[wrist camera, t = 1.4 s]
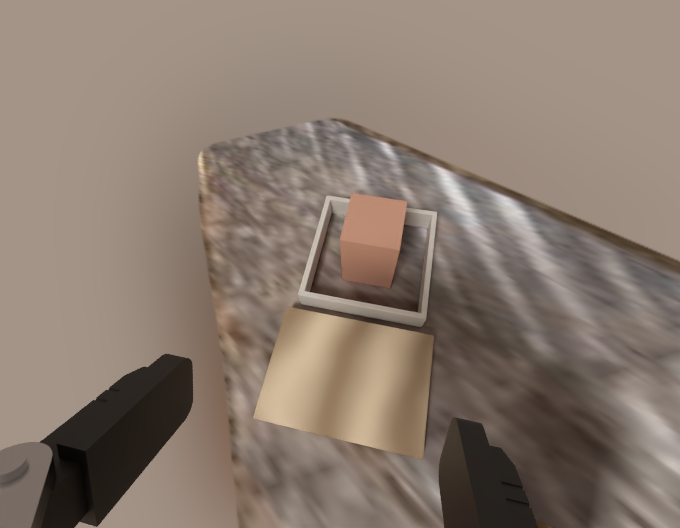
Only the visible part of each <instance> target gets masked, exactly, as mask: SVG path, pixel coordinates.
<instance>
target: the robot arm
mask: <svg viewBox="0 0 680 528" xmlns="http://www.w3.org/2000/svg"><path fill="white" fill-rule="evenodd" d="M192 371H193V370H192V361H191V360H190V359H189V358H184V357H179V356H175V355H170V354H164V355H162V356H161V357H160V358H159V359H157V360H156V361H155V362H154V363H153V364H151V365H150V366H149V367H142V368H140V369H137V370H136V371H133V372H131V373H129V374H127V375H125V376H123V377H122V378H121V379H120V380H118V381H117V382H116V383H115V384H113V385H112V386H111V387H110V388H109V390H106V391H104V392H103V393H102V394H101V395H99V396H98V397H97V399H96V400H93V401H92V402H90V403H89V404H88V405H87V406H85V407H84V408H83V409H81V410H80V411H79V412H78V413H76V414H75V415H74V416H73V417H71V418H70V419H69V420H68V421H67V422H65V423H64V424H62V425H61V426H60V427H59V428H57V429H56V430H55V431H54V432H52V433H51V434H50V435H48V436H47V437H46V438H45V439H44V440H42V441H41V442H29V443H22V444H18V445H14V446H11V447H8V448H5V449H3V450H1V451H0V528H74V527H75V526H76V525H77V524H78V523H79V522H83V523H86V524H89V525H93V526H96V527H97V526H98V525H99V524H100V523H101V522H102V520H103V519H104V518H105V517H106V515H107V514H108V513H109V512H110V511H111V509H112V508H113V507H114V506H115V505H116V503H117V502H118V501H119V500H120V498H121V497H122V496H123V495H124V494H125V492H126V491H127V490H128V489H129V488H130V486H131V485H132V484H133V483H134V481H135V480H136V479H137V478H138V477H139V475H140V474H141V473H142V471H143V470H144V469H145V468H146V467H147V466H148V464H149V463H150V462H151V461H152V459H153V458H154V457H155V456H156V455H157V453H158V452H159V451H160V450H161V449H162V447H163V446H164V445H165V444H166V442H167V441H168V440H169V439H170V437H171V436H172V435H173V434H174V433H175V432H176V430H177V429H178V428H179V427H180V425H181V424H182V423H183V422H184V421H185V419H186V418H187V416H188V414H189V412H190V409H191V407H192V403H193V372H192ZM439 487H440V495H441V503H442V511H443V519H444V528H538V526H537V523H536V521H535V518H534V515H533V513H532V510H531V508H529V502H528V499H527V497H526V494H525V491H524V490H523V489H522V487H523V486H522V483H521V481H520V478H519V476H518V473H517V470H516V468H515V466H514V464H513V463H512V462H511V461H510V459H509V458H508V457H507V455H506V454H505V453H504V452H503V450H502V449H501V448H498V447H494V446H489V443H488V440H487V437H486V433H485V430H484V427H483V425H482V424H481V423H478V422H473V421H468V420H464V419H459V418H455V417H454V418H453V419H452V420H451V423H450V426H449V430H448V433H447V437H446V440H445V444H444V447H443V451H442V454H441V458H440V464H439Z"/></svg>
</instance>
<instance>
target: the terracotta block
mask: <svg viewBox="0 0 680 528" xmlns="http://www.w3.org/2000/svg"><path fill="white" fill-rule="evenodd" d="M406 207H407V201H401V200H395V199H388V198H381V197H374V196H367V195H361V194H354V193H351V197H350V201H349V205H348V209H347V213H346V217H345V221H344V225H343V229H342V233H341V237H340V249H341V264H342V278H343V280H347V281H352V282H358V283H363V284H369V285H374V286H380V287H385V288H390V287H391V283H392V279H393V275H394V271H395V267H396V263H397V259H398V255H399V251H400V245H401V239H402V233H403V226H404V220H405V213H406Z"/></svg>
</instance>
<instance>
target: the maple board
mask: <svg viewBox="0 0 680 528" xmlns="http://www.w3.org/2000/svg"><path fill="white" fill-rule="evenodd" d="M433 342H434V335H429V334H424V333H419V332H414V331H409V330H404V329H399V328H394V327H389V326H384V325H378V324H373V323H368V322H363V321H358V320H353V319H348V318H343V317H338V316H333V315H328V314H322V313H317V312H312V311H307V310H302V309H297V308H292V307H286V310H285V314H284V317H283V320H282V324H281V327H280V330H279V334H278V337H277V340H276V344H275V347H274V350H273V353H272V357H271V360H270V363H269V367H268V370H267V373H266V377H265V380H264V383H263V387H262V390H261V393H260V397H259V400H258V403H257V406H256V410H255V413H254V416H253V418H254V419H258V420H262V421H266V422H270V423H275V424H279V425H283V426H287V427H291V428H295V429H299V430H303V431H307V432H311V433H316V434H320V435H324V436H328V437H332V438H336V439H340V440H344V441H348V442H352V443H357V444H361V445H365V446H369V447H373V448H377V449H381V450H385V451H389V452H394V453H398V454H402V455H406V456H410V457H414V458H418V459H422V460H423V452H424V441H425V430H426V419H427V408H428V397H429V386H430V375H431V364H432V353H433Z"/></svg>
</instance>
